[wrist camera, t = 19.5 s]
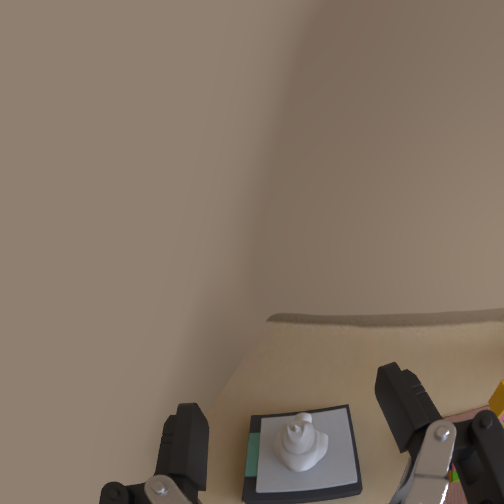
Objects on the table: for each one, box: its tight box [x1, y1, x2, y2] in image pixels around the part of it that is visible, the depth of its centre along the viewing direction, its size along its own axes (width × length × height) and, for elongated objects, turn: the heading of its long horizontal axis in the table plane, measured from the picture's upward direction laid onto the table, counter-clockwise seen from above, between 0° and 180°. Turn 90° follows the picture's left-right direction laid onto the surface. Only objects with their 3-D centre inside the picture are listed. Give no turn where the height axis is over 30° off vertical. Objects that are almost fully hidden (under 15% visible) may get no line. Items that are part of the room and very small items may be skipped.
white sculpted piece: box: [273, 412, 328, 472], centre depth 21 cm, size 5×7×8 cm
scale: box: [242, 404, 362, 504], centre depth 23 cm, size 12×12×3 cm
